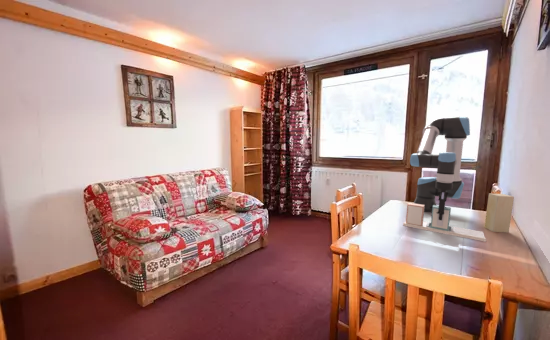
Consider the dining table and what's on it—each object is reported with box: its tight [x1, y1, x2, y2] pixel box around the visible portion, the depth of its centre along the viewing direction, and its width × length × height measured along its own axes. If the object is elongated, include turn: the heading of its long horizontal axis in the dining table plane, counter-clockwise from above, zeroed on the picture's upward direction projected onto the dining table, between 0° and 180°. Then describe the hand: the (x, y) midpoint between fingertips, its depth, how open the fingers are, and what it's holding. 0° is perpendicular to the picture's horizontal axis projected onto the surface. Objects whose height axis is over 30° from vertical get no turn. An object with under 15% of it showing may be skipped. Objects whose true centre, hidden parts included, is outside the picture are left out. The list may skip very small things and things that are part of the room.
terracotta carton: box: [405, 202, 425, 226], centre depth 140 cm, size 5×8×12 cm, turn 54°
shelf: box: [402, 220, 487, 243], centre depth 136 cm, size 16×36×4 cm, turn 54°
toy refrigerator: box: [484, 193, 515, 233], centre depth 134 cm, size 8×7×21 cm
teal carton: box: [430, 204, 452, 231], centre depth 133 cm, size 5×8×12 cm, turn 54°
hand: (440, 224), depth 133 cm, fingers open, 5 cm apart
